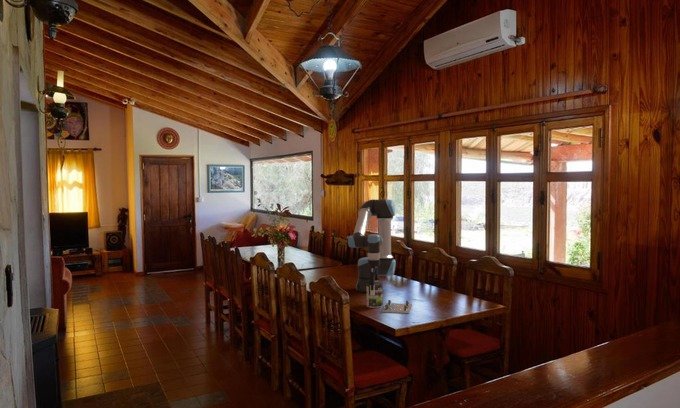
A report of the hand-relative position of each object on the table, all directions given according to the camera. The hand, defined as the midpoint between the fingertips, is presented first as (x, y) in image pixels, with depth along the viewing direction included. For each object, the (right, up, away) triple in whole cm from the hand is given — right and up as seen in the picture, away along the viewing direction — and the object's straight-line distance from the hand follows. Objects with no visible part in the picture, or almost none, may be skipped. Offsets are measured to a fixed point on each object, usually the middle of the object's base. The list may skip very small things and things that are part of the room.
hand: (374, 292), depth 313 cm
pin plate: (+13, -9, -9) cm, 18 cm away
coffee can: (0, -8, +1) cm, 9 cm away
